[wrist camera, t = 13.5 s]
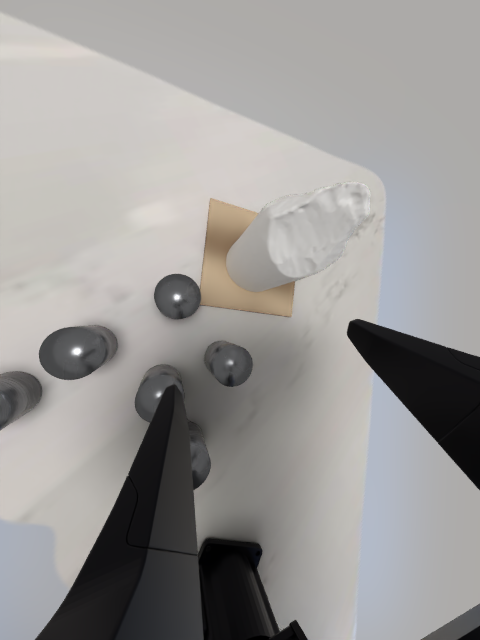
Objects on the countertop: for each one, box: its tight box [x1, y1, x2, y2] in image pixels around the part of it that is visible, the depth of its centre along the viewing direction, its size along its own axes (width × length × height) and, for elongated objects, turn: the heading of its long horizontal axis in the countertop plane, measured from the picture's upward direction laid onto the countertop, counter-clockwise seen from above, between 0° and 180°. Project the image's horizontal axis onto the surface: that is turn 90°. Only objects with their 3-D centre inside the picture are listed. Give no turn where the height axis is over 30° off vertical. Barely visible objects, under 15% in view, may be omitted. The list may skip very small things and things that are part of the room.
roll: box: [226, 182, 371, 292], centre depth 15 cm, size 6×12×6 cm
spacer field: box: [0, 274, 253, 490], centre depth 15 cm, size 16×14×4 cm
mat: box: [200, 198, 295, 317], centre depth 21 cm, size 10×10×1 cm
